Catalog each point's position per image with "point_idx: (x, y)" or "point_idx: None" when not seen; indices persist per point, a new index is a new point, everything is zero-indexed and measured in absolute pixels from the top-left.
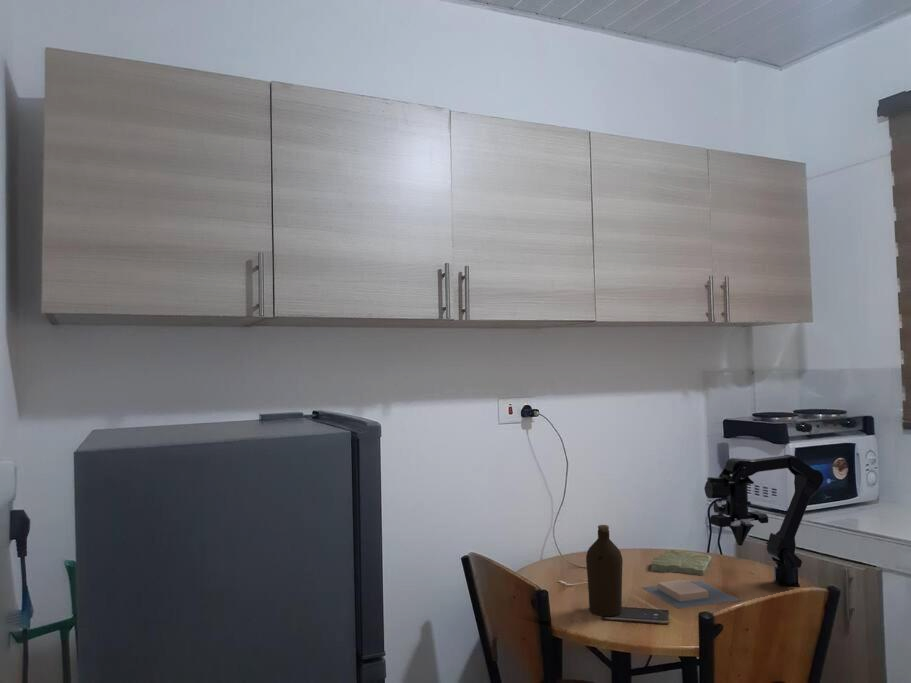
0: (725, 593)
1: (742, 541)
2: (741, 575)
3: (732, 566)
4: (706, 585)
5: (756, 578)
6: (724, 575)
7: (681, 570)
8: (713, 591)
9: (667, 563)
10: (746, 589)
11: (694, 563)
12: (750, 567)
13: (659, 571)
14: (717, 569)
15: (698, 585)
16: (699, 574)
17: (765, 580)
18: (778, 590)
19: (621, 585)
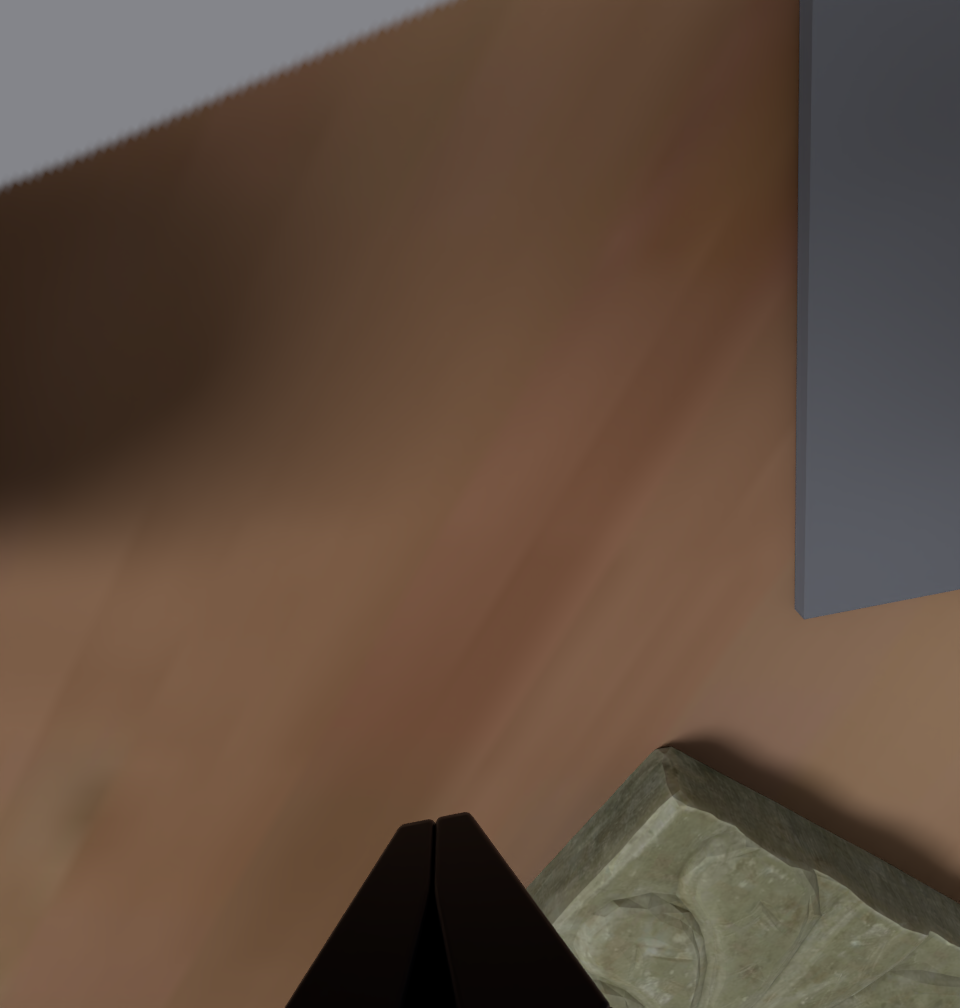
0: (829, 124)
1: (410, 895)
2: (241, 762)
3: (209, 987)
4: (848, 456)
5: (112, 664)
6: (422, 774)
7: (829, 856)
8: (919, 230)
9: (898, 976)
10: (423, 313)
11: (666, 958)
12: (34, 959)
13: (946, 897)
14: None
15: (930, 470)
16: (698, 775)
17: (29, 593)
18: (3, 203)
19: None
